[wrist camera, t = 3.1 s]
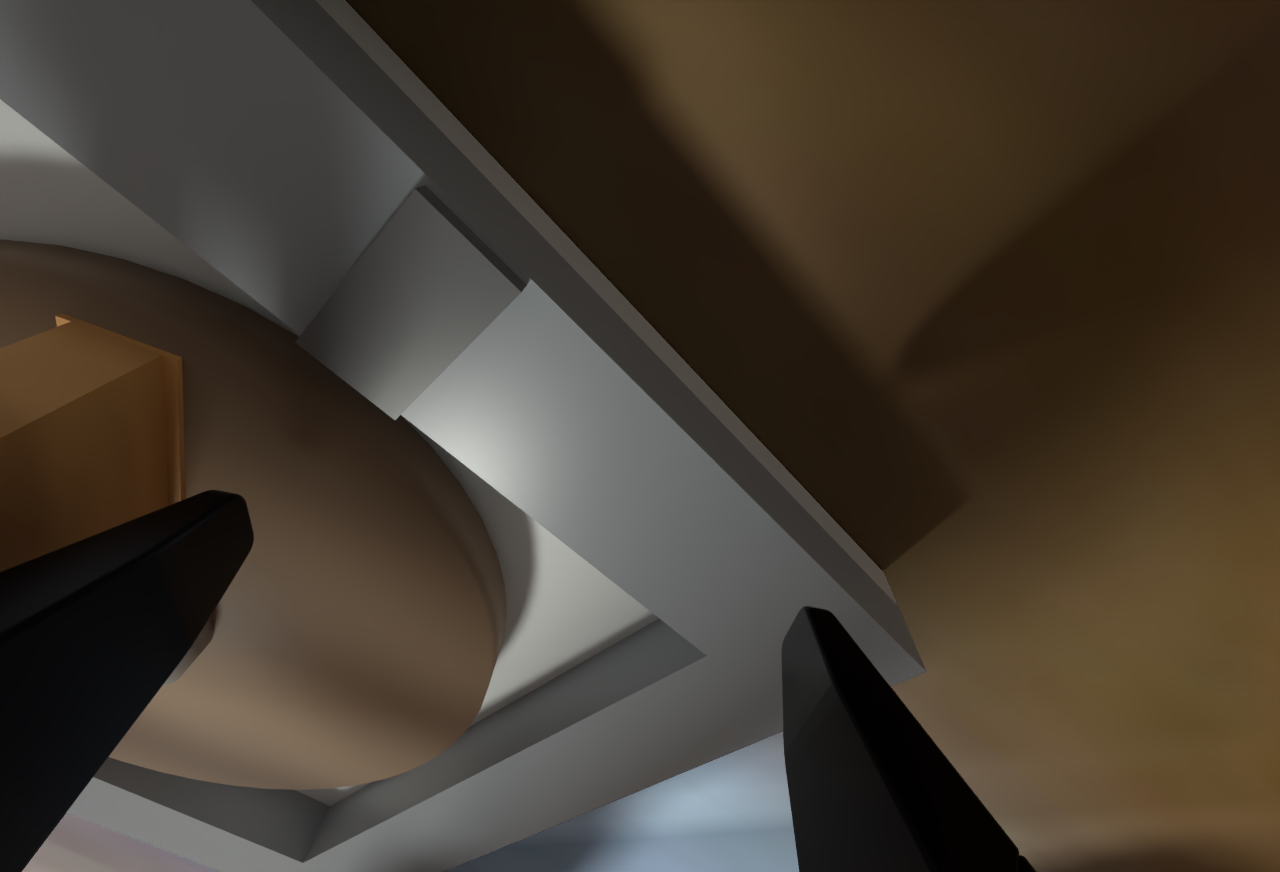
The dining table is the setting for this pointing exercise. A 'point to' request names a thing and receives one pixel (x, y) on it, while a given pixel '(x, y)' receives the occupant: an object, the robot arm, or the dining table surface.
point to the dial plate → (436, 415)
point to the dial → (280, 516)
